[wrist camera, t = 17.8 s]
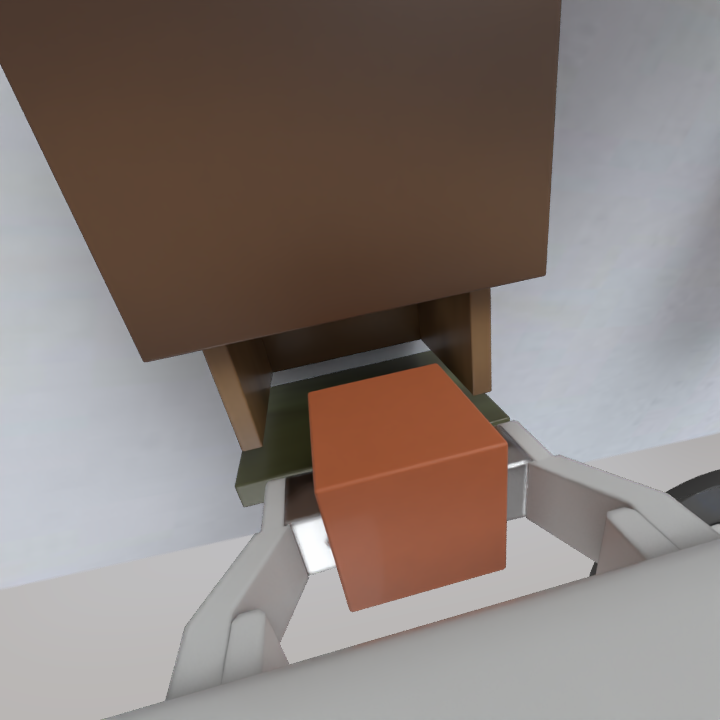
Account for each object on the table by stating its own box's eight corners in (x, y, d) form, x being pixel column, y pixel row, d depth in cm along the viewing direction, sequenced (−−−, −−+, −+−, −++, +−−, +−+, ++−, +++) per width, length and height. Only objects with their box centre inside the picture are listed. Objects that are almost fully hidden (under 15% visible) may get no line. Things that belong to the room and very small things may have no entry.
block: (445, 462, 12) (507, 569, 9) (333, 491, 12) (350, 615, 8) (437, 361, 11) (510, 442, 7) (307, 391, 10) (313, 492, 7)
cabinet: (437, 244, 20) (546, 276, 11) (212, 290, 19) (143, 363, 10) (409, -142, 14) (605, -731, 5) (73, -105, 13) (-403, -767, 4)
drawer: (446, 428, 24) (509, 520, 17) (281, 469, 23) (275, 584, 16) (421, 107, 16) (517, 34, 9) (171, 149, 15) (68, 104, 8)
